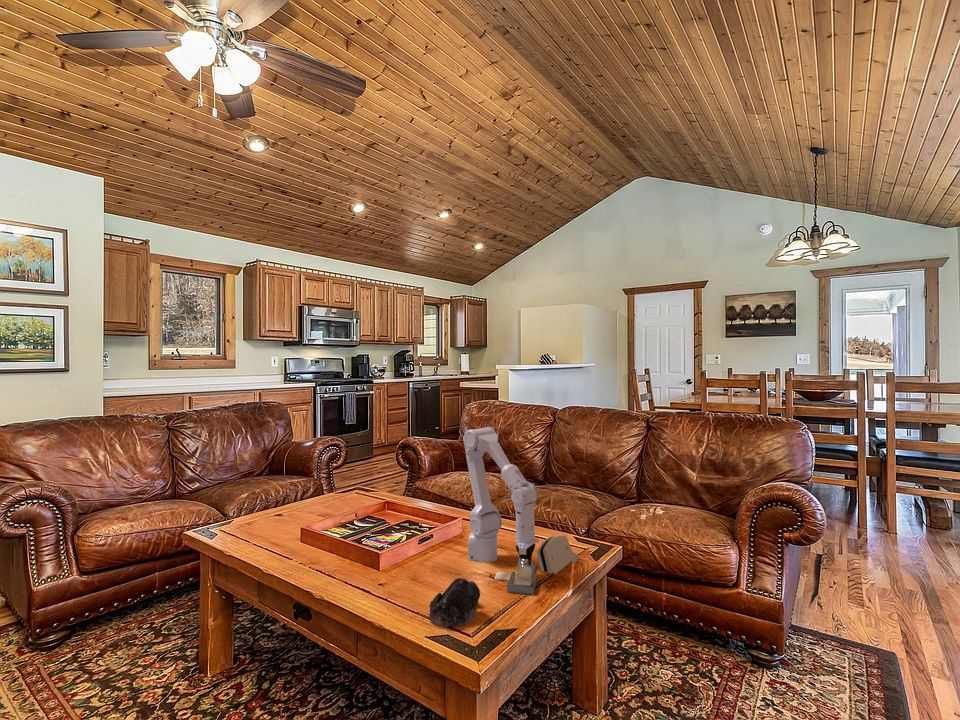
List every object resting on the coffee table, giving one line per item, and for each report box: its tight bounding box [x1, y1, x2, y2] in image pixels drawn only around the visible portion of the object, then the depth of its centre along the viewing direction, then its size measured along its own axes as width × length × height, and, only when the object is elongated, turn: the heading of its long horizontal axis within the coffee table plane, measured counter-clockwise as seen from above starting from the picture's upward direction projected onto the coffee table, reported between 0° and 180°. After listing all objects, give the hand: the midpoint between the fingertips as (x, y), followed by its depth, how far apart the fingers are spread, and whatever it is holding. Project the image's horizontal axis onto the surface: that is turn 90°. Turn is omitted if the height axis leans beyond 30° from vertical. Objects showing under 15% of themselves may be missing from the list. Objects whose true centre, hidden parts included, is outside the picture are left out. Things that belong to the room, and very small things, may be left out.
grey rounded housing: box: [536, 534, 579, 575], centre depth 159 cm, size 17×5×10 cm, turn 145°
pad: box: [493, 571, 512, 581], centre depth 150 cm, size 5×5×1 cm
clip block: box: [516, 557, 533, 579], centre depth 149 cm, size 4×4×5 cm
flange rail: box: [506, 563, 538, 596], centre depth 148 cm, size 8×19×3 cm, turn 167°
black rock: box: [428, 577, 481, 628], centre depth 130 cm, size 13×14×10 cm
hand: (526, 568), depth 151 cm, fingers closed, pressing on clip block
